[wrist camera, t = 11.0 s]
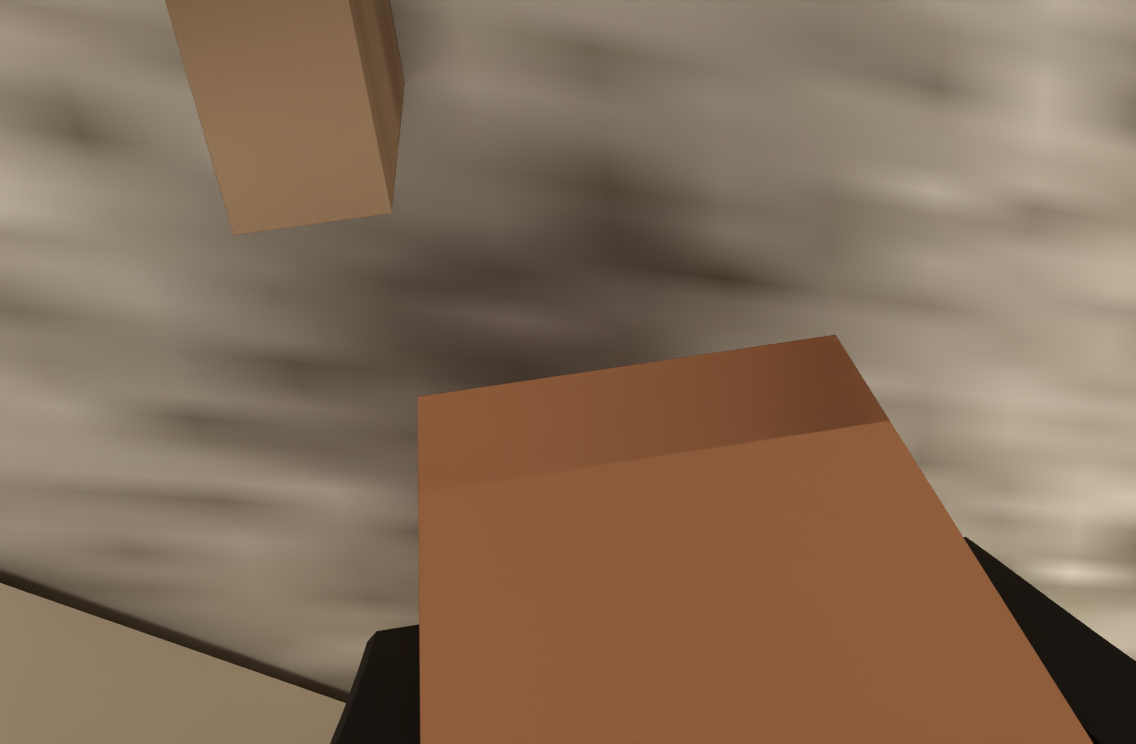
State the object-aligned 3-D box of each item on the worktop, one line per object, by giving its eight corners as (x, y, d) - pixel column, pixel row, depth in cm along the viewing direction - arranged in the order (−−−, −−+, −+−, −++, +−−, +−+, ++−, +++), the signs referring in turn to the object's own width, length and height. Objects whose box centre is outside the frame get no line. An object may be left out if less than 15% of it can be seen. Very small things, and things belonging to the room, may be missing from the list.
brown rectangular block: (559, 932, 26) (589, 1185, 21) (498, 943, 26) (514, 1200, 21) (311, -423, 12) (232, -575, 7) (176, -409, 12) (3, -554, 7)
